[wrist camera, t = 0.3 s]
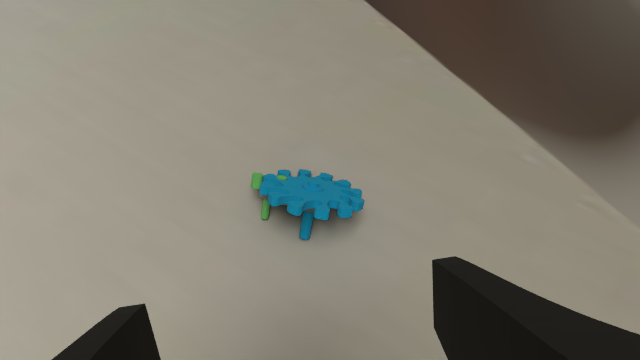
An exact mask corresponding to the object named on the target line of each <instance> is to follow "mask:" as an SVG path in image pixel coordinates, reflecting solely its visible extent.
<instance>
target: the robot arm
mask: <svg viewBox="0 0 640 360" xmlns="http://www.w3.org/2000/svg"><path fill="white" fill-rule="evenodd" d="M432 269H433V309H434V329H435V331H436V333H437V336H438V338H439V340H440V343H441V345H442V347H443V350H444V352H445V354H446V356H447V358H448V360H640V335H639V334H636V333H633V332H630V331H627V330H624V329H621V328H618V327H616V326H613V325H610V324H607V323H604V322H601V321H599V320H596V319H593V318H591V317H588V316H585V315H583V314H580V313H578V312H575V311H573V310H570V309H568V308H566V307H563V306H561V305H559V304H556V303H554V302H552V301H549V300H547V299H545V298H542V297H540V296H538V295H536V294H534V293H531V292H529V291H527V290H525V289H523V288H521V287H519V286H517V285H515V284H513V283H510V282H508V281H506V280H504V279H502V278H500V277H498V276H496V275H494V274H492V273H490V272H488V271H486V270H484V269H482V268H480V267H478V266H476V265H474V264H472V263H470V262H468V261H465V260H463V259H461V258H458V257H456V256H455V257H448V258H442V259H435V260H432ZM52 360H161V359H160V356H159V352H158V348H157V345H156V341H155V338H154V334H153V331H152V327H151V323H150V320H149V316H148V313H147V309H146V306H145V304H139V305H133V306H126V307H120V308H118V309H116V310H115V311H113V312H112V313H111V314H109V315H108V316H106V317H105V318H104V319H102V320H101V321H100V322H99V323H97V324H96V325H95V326H93V327H92V328H91V329H90V330H88V331H87V332H86V333H85V334H83V335H82V336H81V337H80V338H78V339H77V340H76V341H75V342H73V343H72V344H71V345H70V346H68V347H67V348H66V349H65V350H63V351H62V352H61V353H60V354H58V355H57V356H56V357H54V358H53V359H52Z"/></svg>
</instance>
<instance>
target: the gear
mask: <svg viewBox="0 0 640 360" xmlns="http://www.w3.org/2000/svg"><path fill="white" fill-rule="evenodd" d="M290 174H291V172H290V171H289V170H278V175H277V176H276V175H274V174H267V175H264V176H263V174H261V173H253V174H252V183H251V187H252V188H253V189H260V192H259V197H260V198H262V199H263V205H262V213H261V218H262V219H268V215H269V208H270V205H271V206H279V205H285V206H287V212H289V213H290V214H293V215H295V216H300V215H301V214H302V212H303V217H302V223H301V229H300V235H299V237H300V238H301V239H309V238H310V232H311V226H312V221H313V215H314V218H317V219H322V220H328V219H329V214H330V208H335V209H337V210H338V211H337V216H339V217H340V218H349V217H352V212H353V211H360V210H361V209H363V205H364V200H363V199H361V194H362V191H361V190H360V189H350V187H351V183H350V182H348V181H347V180H339V181H332V178H333V176H332V175H329V174H327V173H321V174H320V176H317V177H310V175H311V171H308V170H302V169H300V170H299V172H298V177H291V176H290ZM262 181H263V182H262Z"/></svg>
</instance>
